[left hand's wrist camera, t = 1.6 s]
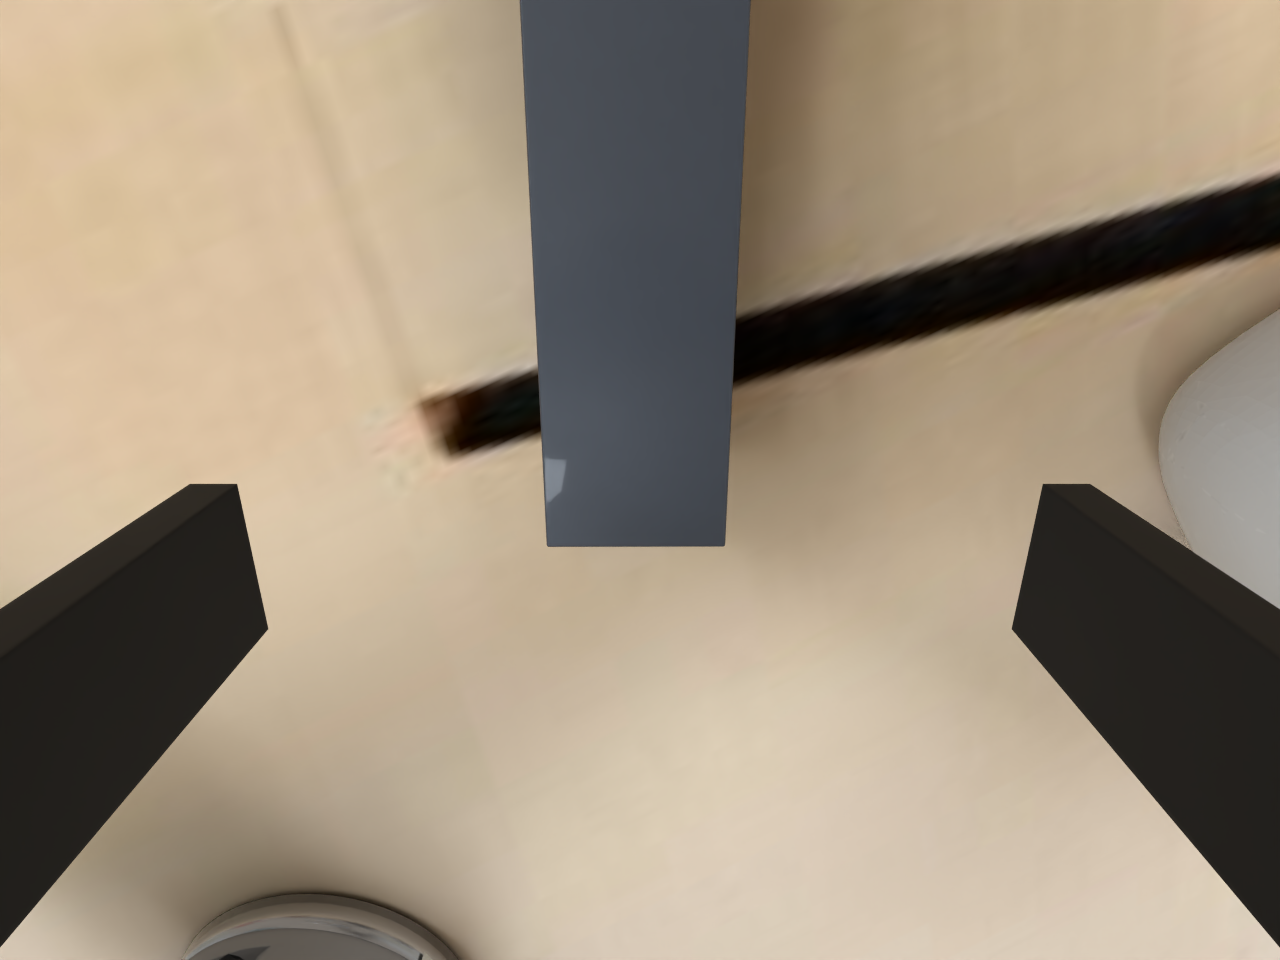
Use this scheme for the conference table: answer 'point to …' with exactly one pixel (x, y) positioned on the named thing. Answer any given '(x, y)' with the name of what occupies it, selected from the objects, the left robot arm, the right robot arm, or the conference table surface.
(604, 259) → the bar
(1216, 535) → the projector
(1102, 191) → the conference table surface
